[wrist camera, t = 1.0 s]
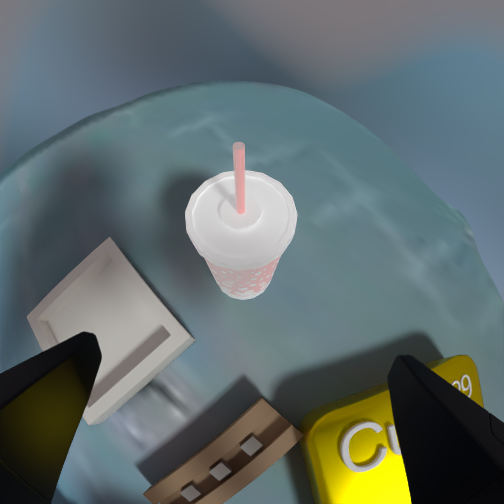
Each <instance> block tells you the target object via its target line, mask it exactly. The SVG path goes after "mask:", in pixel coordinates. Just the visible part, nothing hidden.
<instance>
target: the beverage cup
mask: <svg viewBox="0 0 504 504" xmlns="http://www.w3.org/2000/svg"><path fill="white" fill-rule="evenodd" d="M233 159H234V171H230V172H223V173H221V174H219V175H217V176H215V177H213V178H211V179H209V180H207V181H205V182H204V183H203V184H202V185H201V186H200V187H199V188H198V189H197V190H196V191H195V192H194V193H193V194H192V196H191V198H190V201H189V203H188V206H187V208H186V211H185V219H186V231H187V234H188V235H189V237H190V239H191V241H192V243H193V244H194V246H195V248H196V249H197V251H198V253H199V254H200V255H201V256H203V257H204V258H205V260H206V262H207V264H208V266H209V268H210V270H211V272H212V274H213V276H214V278H215V280H216V282H217V284H218V285H219V287H220V289H221V290H222V291H223V292H224V293H226V294H227V295H228V296H230V297H232V298H236V299H241V300H244V299H250V298H254V297H256V296H258V295H259V294H261V293H262V292H263V291H264V290H265V289H266V287H267V286H268V285H269V283H270V281H271V278H272V276H273V273H274V271H275V268H276V266H277V264H278V261H279V259H280V256H281V255H282V253H283V252H284V250H285V249H286V248H287V246H288V245H289V243H290V242H291V241H292V238H293V236H294V233H295V227H296V221H297V215H298V214H297V211H296V207H295V204H294V201H293V198H292V196H291V195H290V194H289V192H288V191H287V190H286V189H285V188H284V187H283V185H282V184H281V183H280V182H278V181H276V180H274V179H273V178H271V177H269V176H267V175H265V174H263V173H259V172H253V171H247V170H245V145H244V144H243V143H242V142H236V143H234V144H233Z"/></svg>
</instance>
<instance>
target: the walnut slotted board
mask: <svg viewBox="0 0 504 504" xmlns="http://www.w3.org/2000/svg"><path fill="white" fill-rule="evenodd" d="M303 436H304V435H303V434H302V433H301V432H300V431H299V430H298V429H297V428H295V427H294V426H293V425H292V424H291V423H290V422H288V421H287V420H286V419H285V418H284V417H283V416H282V415H280V414H279V413H278V412H277V411H276V410H275V409H274V408H273V407H272V406H270V405H269V404H268V403H267V402H266V401H265V400H264V399H263V398H262V397H260V398H259V399H258V400H257V401H256V402H255V403H254V404H253V405H251V406H250V407H249V408H248V409H247V410H246V411H245V412H244V413H243V414H242V415H240V416H239V417H238V418H237V419H236V420H235V421H234V422H233V423H231V424H230V425H229V426H228V427H227V428H226V429H224V430H223V431H222V432H221V433H220V434H219V435H217V436H216V437H215V438H214V439H213V440H211V441H210V442H209V443H208V444H206V445H205V446H204V447H203V448H202V449H200V450H199V451H198V452H197V453H195V454H194V455H193V456H191V457H190V458H189V459H188V460H186V461H185V462H184V463H182V464H181V465H180V466H178V467H177V468H176V469H174V470H173V471H172V472H170V473H169V474H167V475H166V476H165V477H163V478H162V479H160V480H159V481H158V482H156V483H155V484H153V485H152V486H151V487H150V488H149V489H148V490H147V491H146V492H144V493H143V495H144V496H145V497H146V498H147V499H148V500H149V501H150V502H151V503H152V504H157V503H159V502H160V503H161V504H222V503H224V502H225V501H227V500H228V499H229V498H231V497H232V496H234V495H235V494H236V493H238V492H239V491H240V490H242V489H243V488H244V487H246V486H247V485H248V484H249V483H251V482H252V481H253V480H254V479H256V478H257V477H258V476H259V475H261V474H262V473H263V472H264V471H266V470H267V469H268V468H269V467H270V466H271V465H273V464H274V463H275V462H276V461H277V460H278V459H280V458H281V457H282V456H283V455H284V454H285V453H286V452H287V451H288V450H290V449H291V448H292V447H293V446H294V445H295V444H296V443H297V442H298V441H299V440H300V439H301V438H302V437H303Z"/></svg>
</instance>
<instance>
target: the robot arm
mask: <svg viewBox="0 0 504 504" xmlns="http://www.w3.org/2000/svg"><path fill="white" fill-rule="evenodd" d="M101 361H102V353H101V350H100V346H99V343H98V340H97V337H96V335H95V334H94V333H90V332H86V331H83V332H81V333H79V334H77V335H75V336H73V337H71V338H69V339H67V340H65V341H63V342H61V343H59V344H57V345H55V346H53V347H51V348H49V349H47V350H45V351H43V352H41V353H39V354H37V355H36V356H34V357H32V358H30V359H28V360H26V361H24V362H22V363H20V364H18V365H16V366H14V367H12V368H10V369H8V370H6V371H4V372H3V373H1V374H0V504H51V501H52V498H53V495H54V492H55V489H56V486H57V483H58V480H59V477H60V474H61V471H62V468H63V465H64V462H65V459H66V456H67V454H68V451H69V448H70V446H71V443H72V440H73V438H74V435H75V433H76V430H77V428H78V425H79V423H80V420H81V418H82V415H83V413H84V411H85V408H86V406H87V403H88V401H89V398H90V395H91V392H92V389H93V385H94V382H95V379H96V376H97V373H98V370H99V367H100V364H101ZM387 381H388V387H389V394H390V400H391V407H392V414H393V420H394V425H395V429H396V433H397V437H398V442H399V446H400V450H401V455H402V459H403V464H404V469H405V473H406V478H407V484H408V489H409V495H410V500H411V504H504V423H503V422H502V421H501V420H499V419H498V418H496V417H495V416H494V415H492V414H491V413H489V412H488V411H487V410H486V409H484V408H483V407H481V406H480V405H479V404H477V403H476V402H475V401H473V400H472V399H471V398H469V397H468V396H467V395H465V394H464V393H462V392H461V391H460V390H458V389H457V388H456V387H454V386H453V385H451V384H450V383H449V382H447V381H446V380H445V379H443V378H442V377H440V376H439V375H438V374H436V373H435V372H434V371H432V370H431V369H429V368H428V367H427V366H425V365H424V364H423V363H421V362H420V361H418V360H417V359H416V358H414V357H413V356H411V355H409V354H405V355H398V356H397V357H396V358H395V360H394V363H393V365H392V367H391V369H390V372H389V374H388V379H387Z"/></svg>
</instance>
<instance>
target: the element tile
mask: <svg viewBox="0 0 504 504" xmlns="http://www.w3.org/2000/svg"><path fill="white" fill-rule="evenodd" d="M425 366H427V367H428V368H429V369H431V370H432V371H434V372H435V373H436V374H438V375H439V376H440V377H442V378H443V379H445V380H446V381H447V382H449V383H450V384H451V385H453V386H454V387H456V388H457V389H458V390H460V391H461V392H462V393H464V394H465V395H467V396H468V397H469V398H471V399H472V400H473V401H475V402H476V403H477V404H479V405H480V406H481V407H483V408H484V405H483V398H482V392H481V386H480V381H479V376H478V371H477V367H476V365H475V363H474V361H473V360H472V358H470V357H469V356H467V355H456V356H452V357H447V358H443V359H438V360H434V361H431V362H429V363H427V364H425ZM299 431H300V432H301V433H302V434H303V435H304V436H303V437H302V438H301V439H300V440H299V442H300V446H301V450H302V454H303V458H304V462H305V466H306V470H307V474H308V478H309V483H310V487H311V491H312V495H313V499H314V503H315V504H411V500H410V495H409V489H408V484H407V478H406V473H405V469H404V464H403V459H402V455H401V450H400V446H399V442H398V437H397V433H396V429H395V425H394V420H393V414H392V407H391V400H390V394H389V387H388V381H387V382H385V383H383V384H380V385H378V386H375V387H373V388H370V389H367V390H365V391H362V392H360V393H357V394H354V395H351V396H348V397H346V398H343V399H340V400H337V401H334V402H331V403H328V404H325V405H321V406H319V407H317V408H315V409H313V410H311V411H310V412H309V413H307V414H306V415H305V416H304V418H303V419H302V421H301V422H300V426H299Z"/></svg>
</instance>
